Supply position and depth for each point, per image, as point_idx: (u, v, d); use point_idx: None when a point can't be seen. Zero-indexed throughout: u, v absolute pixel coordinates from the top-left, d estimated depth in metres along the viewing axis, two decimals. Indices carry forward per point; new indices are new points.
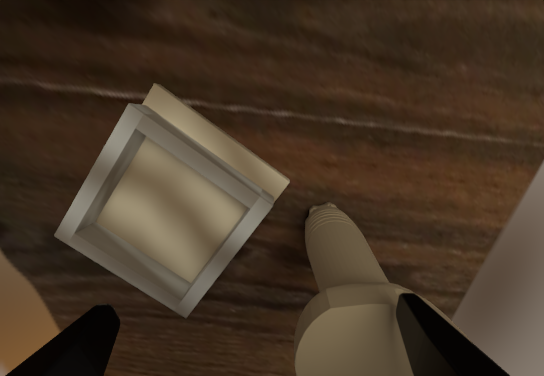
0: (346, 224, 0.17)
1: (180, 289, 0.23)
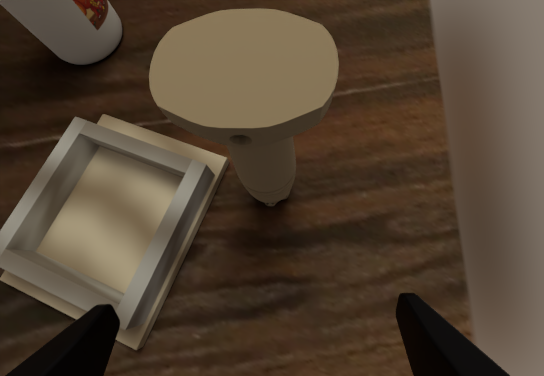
0: None
1: (121, 299, 0.19)
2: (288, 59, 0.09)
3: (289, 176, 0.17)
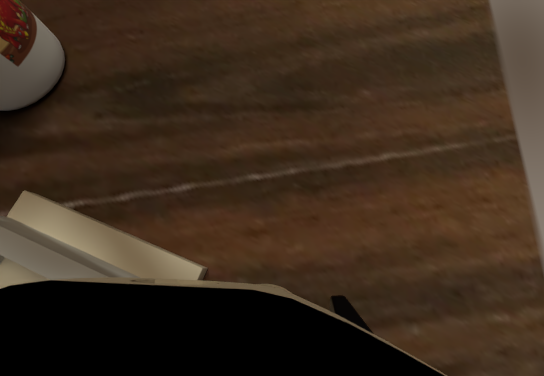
0: None
1: None
2: None
3: None
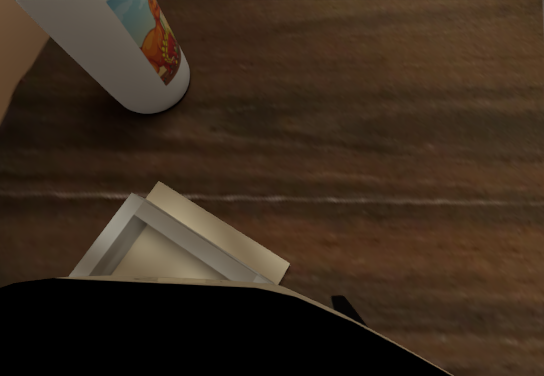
0: None
1: None
2: None
3: None
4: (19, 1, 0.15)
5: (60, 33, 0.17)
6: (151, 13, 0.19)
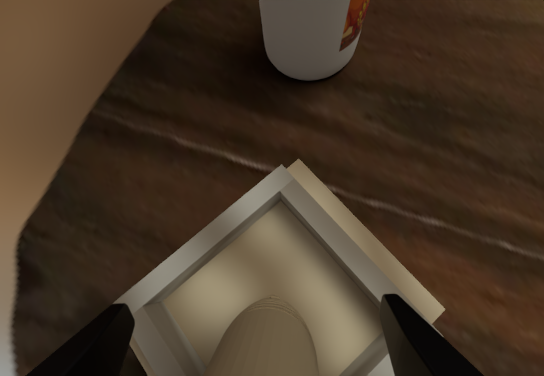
0: (266, 309, 0.11)
1: None
2: None
3: None
4: None
5: None
6: None
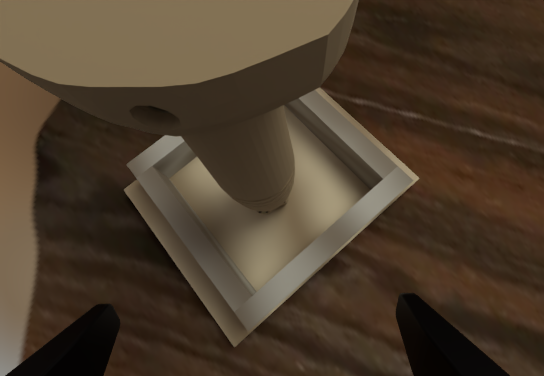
0: None
1: (248, 286, 0.16)
2: None
3: (284, 179, 0.12)
4: None
5: None
6: None
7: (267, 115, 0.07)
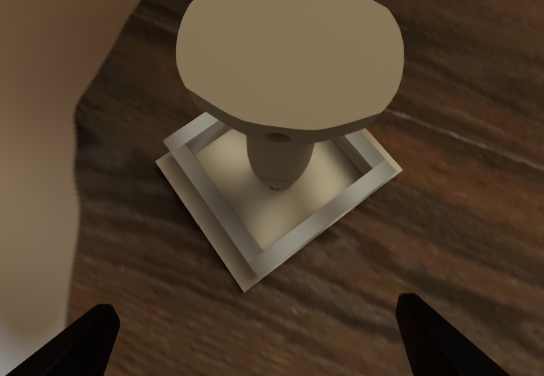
0: None
1: (259, 246, 0.20)
2: (345, 48, 0.08)
3: (304, 167, 0.16)
4: None
5: None
6: None
7: None
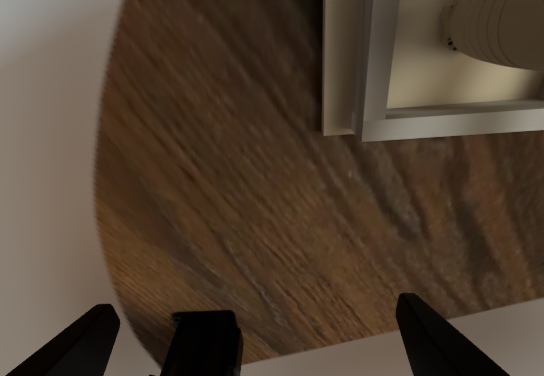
0: None
1: None
2: None
3: None
4: None
5: None
6: None
7: None
